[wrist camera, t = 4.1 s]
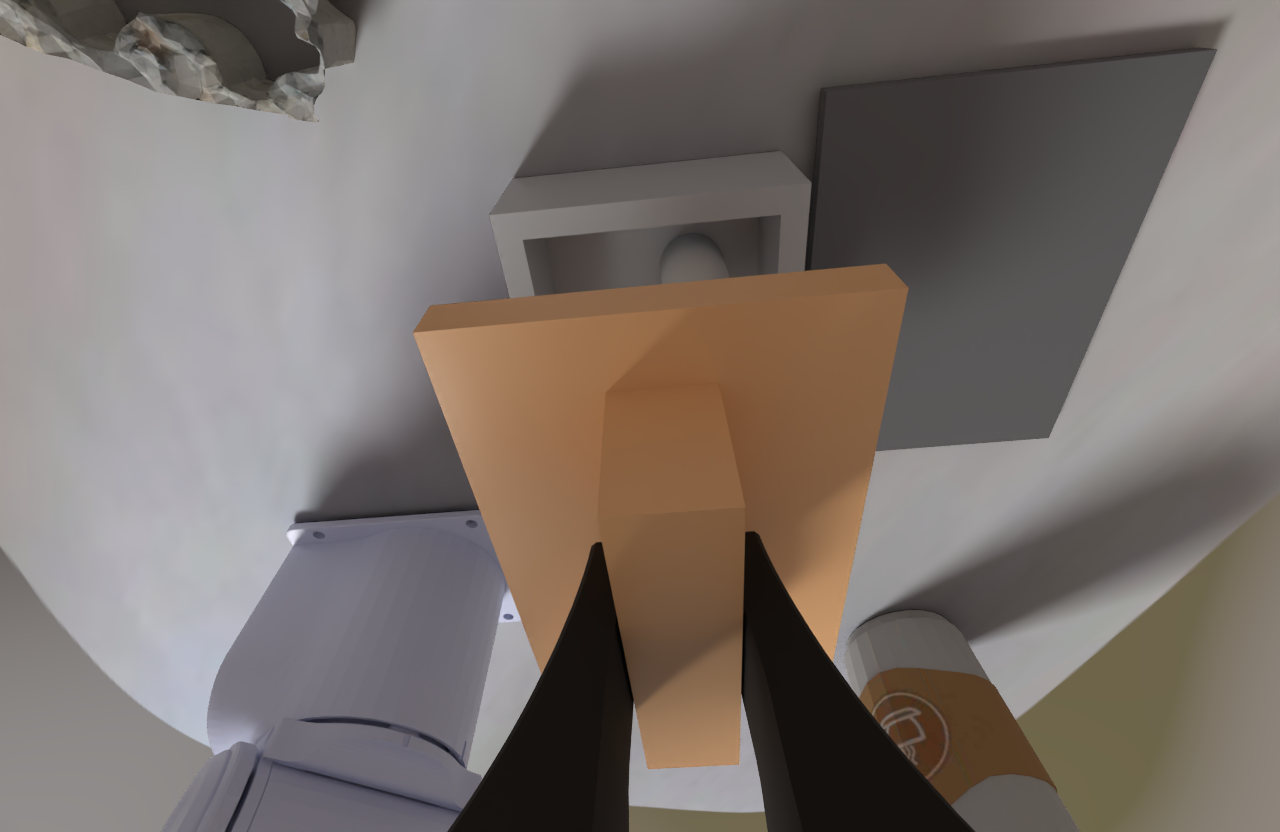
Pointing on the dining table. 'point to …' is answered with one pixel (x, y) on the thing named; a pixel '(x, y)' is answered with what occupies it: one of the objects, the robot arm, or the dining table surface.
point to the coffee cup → (952, 722)
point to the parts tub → (652, 224)
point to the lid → (673, 463)
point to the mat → (995, 224)
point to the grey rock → (184, 50)
